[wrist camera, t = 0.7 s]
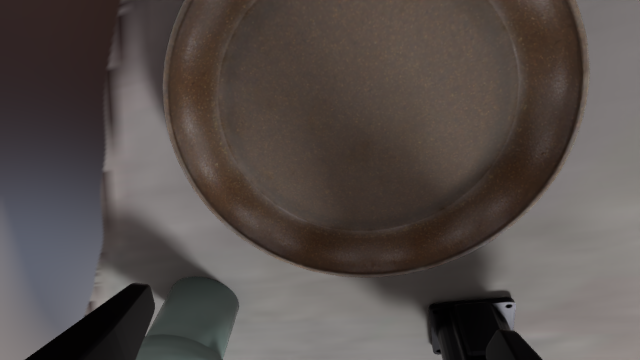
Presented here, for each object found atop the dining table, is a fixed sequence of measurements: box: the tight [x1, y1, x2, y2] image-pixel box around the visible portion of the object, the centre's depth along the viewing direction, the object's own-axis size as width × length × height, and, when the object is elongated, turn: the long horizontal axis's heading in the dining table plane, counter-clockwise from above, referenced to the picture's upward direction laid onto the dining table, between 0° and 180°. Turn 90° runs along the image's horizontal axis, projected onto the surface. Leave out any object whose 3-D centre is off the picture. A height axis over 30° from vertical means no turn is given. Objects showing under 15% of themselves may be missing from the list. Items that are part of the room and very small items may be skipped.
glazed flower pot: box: [136, 277, 239, 360], centre depth 27 cm, size 7×7×7 cm
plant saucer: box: [163, 0, 590, 278], centre depth 19 cm, size 21×21×3 cm
